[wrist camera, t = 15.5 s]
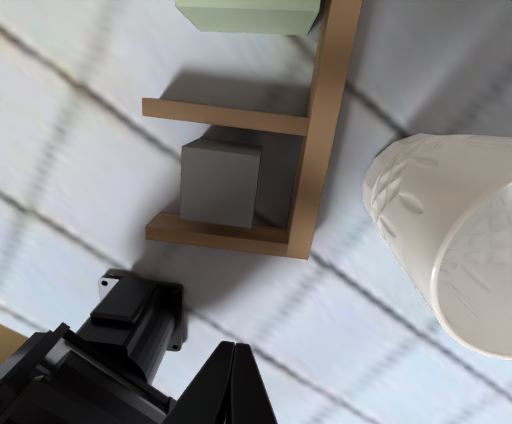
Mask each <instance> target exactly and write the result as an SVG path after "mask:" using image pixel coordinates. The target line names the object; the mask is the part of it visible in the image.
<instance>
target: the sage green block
mask: <svg viewBox="0 0 512 424" xmlns="http://www.w3.org/2000/svg"><path fill="white" fill-rule="evenodd" d="M175 7H176V8H177V9H178V10H179V11H180V12H181V13H182V14H183V15H184V16H185V17H186V18H187V19H188V20H189V21H190V22H191V23H192V24H193V25H194V26H195V27H196V28H197V29H198V30H199V31H204V32H230V33H256V34H282V35H307V34H308V32H309V30H310V28H311V26H312V24H313V22H314V20H315V18H316V16H317V14H318V13H319V8H320V0H175Z"/></svg>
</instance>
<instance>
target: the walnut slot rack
mask: <svg viewBox="0 0 512 424" xmlns="http://www.w3.org/2000/svg"><path fill="white" fill-rule="evenodd" d="M362 1H363V0H325V6H324V12H323V17H322V23H321V29H320V35H319V41H318V47H317V53H316V58H315V64H314V70H313V76H312V82H311V88H310V94H309V100H308V105H307V111H306V117H302V116H294V115H286V114H278V113H270V112H262V111H254V110H246V109H238V108H230V107H222V106H214V105H206V104H198V103H190V102H182V101H174V100H166V99H156V98H142V113H143V116H150V117H158V118H165V119H173V120H181V121H189V122H197V123H205V124H213V125H221V126H229V127H237V128H245V129H253V130H261V131H269V132H277V133H285V134H293V135H301V136H302V141H301V146H300V152H299V158H298V164H297V170H296V176H295V182H294V188H293V193H292V199H291V205H290V211H289V217H288V223H287V229H285V228H277V227H269V226H261V225H253V224H252V225H251V228H246V227H238V226H231V225H223V224H215V223H208V222H200V221H193V220H185V219H180V215H175V214H167V213H159V214H158V215H157V216H156V217H155V218H154V219H153V220H152V221H150V222H149V223H148V224H147V225H146V239H149V240H156V241H164V242H172V243H180V244H188V245H196V246H204V247H211V248H219V249H227V250H235V251H243V252H251V253H258V254H266V255H274V256H282V257H290V258H298V259H306V260H308V258H309V253H310V248H311V244H312V239H313V234H314V229H315V225H316V220H317V215H318V210H319V206H320V201H321V196H322V191H323V186H324V182H325V177H326V172H327V167H328V163H329V158H330V153H331V148H332V144H333V139H334V134H335V129H336V125H337V120H338V115H339V110H340V106H341V101H342V96H343V91H344V86H345V82H346V77H347V72H348V67H349V63H350V58H351V53H352V48H353V44H354V39H355V34H356V29H357V25H358V20H359V15H360V10H361V5H362Z"/></svg>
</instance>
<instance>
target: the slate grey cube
mask: <svg viewBox="0 0 512 424" xmlns="http://www.w3.org/2000/svg"><path fill="white" fill-rule="evenodd" d="M261 152H262V146H258V145H250V144H242V143H235V142H227V141H220V140H212V139H204V138H199V139H197V140H194V141H192V142H190V143H188V144H186V145H184V146H182V161H181V197H180V219H185V220H193V221H200V222H208V223H215V224H223V225H231V226H238V227H246V228H251V225H252V219H253V213H254V207H255V199H256V191H257V183H258V176H259V168H260V160H261Z"/></svg>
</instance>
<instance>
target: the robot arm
mask: <svg viewBox="0 0 512 424" xmlns="http://www.w3.org/2000/svg"><path fill="white" fill-rule="evenodd" d="M104 280H105V281H107V282H108V283H106V282H105V281H104ZM98 285H99V295H100V303H99V304H98V305H97V306H96V307H95V308H94V310H93V311H92V312H91V313H90V317H89V318H88V319H87V320H86V322H85V323H84V324H83V325H82V326H81V327H80V329H79V330H78V331H77V332H76V333H75V332H73V331H72V330H70V329H69V328H70V327H69V326H68V325H66V324H65V323H63V322H62V323H61V324H60V325H59V327H58V328H57V329H56V330H55V331H54V332H52V331H51V330H49V331H48V332H47V333H41V332H35V333H34V334H33V335H32V336H31V337H30V338H29V339H28V340H27V341H26V342H25V343H24V344H23V345H22V346H21V347H20V348H19V349H18V350H17V351H16V352H15V353H13V355H11V356H10V357H9V358H8V359H7V360H6V361H5V362H4V363H3V364H1V365H0V424H278V423H277V420H276V417H275V414H274V411H273V409H272V406H271V403H270V400H269V397H268V395H267V392H266V389H265V386H264V383H263V380H262V378H261V375H260V372H259V369H258V366H257V363H256V361H255V358H254V355H253V352H252V349H251V347H250V345H249V344H244V343H236V345H235V343H234V342H229V341H221V342H220V344H219V345H218V346H217V348H216V349H215V350H214V352H213V353H212V354H211V356H210V357H209V358H208V360H207V361H206V362H205V364H204V365H203V367H202V368H201V369H200V371H199V372H198V373H197V375H196V376H195V377H194V379H193V380H192V381H191V383H190V384H189V386H188V387H187V388H186V390H185V391H184V392H183V394H182V395H181V396H180V398H179V399H178V400H177V401H176V400H175V399H173V398H172V397H167V396H166V395H164V394H163V393H161V392H160V391H159V390H157V389H156V388H154V387H153V386H151V384H152V382H153V380H154V377H155V375H156V373H157V370H158V368H159V366H160V363H161V361H162V359H163V356H164V354H165V351H166V350H167V351H179V350H181V347H182V344H183V310H184V288H183V286H182V285H180V284H175V283H167V282H159V281H153V280H145V279H137V278H130V277H120V276H112V275H103V276H102V277H101V278H100V279H99V280H98ZM175 290H178V291H179V292H176V291H175ZM225 418H226V420H225Z"/></svg>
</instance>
